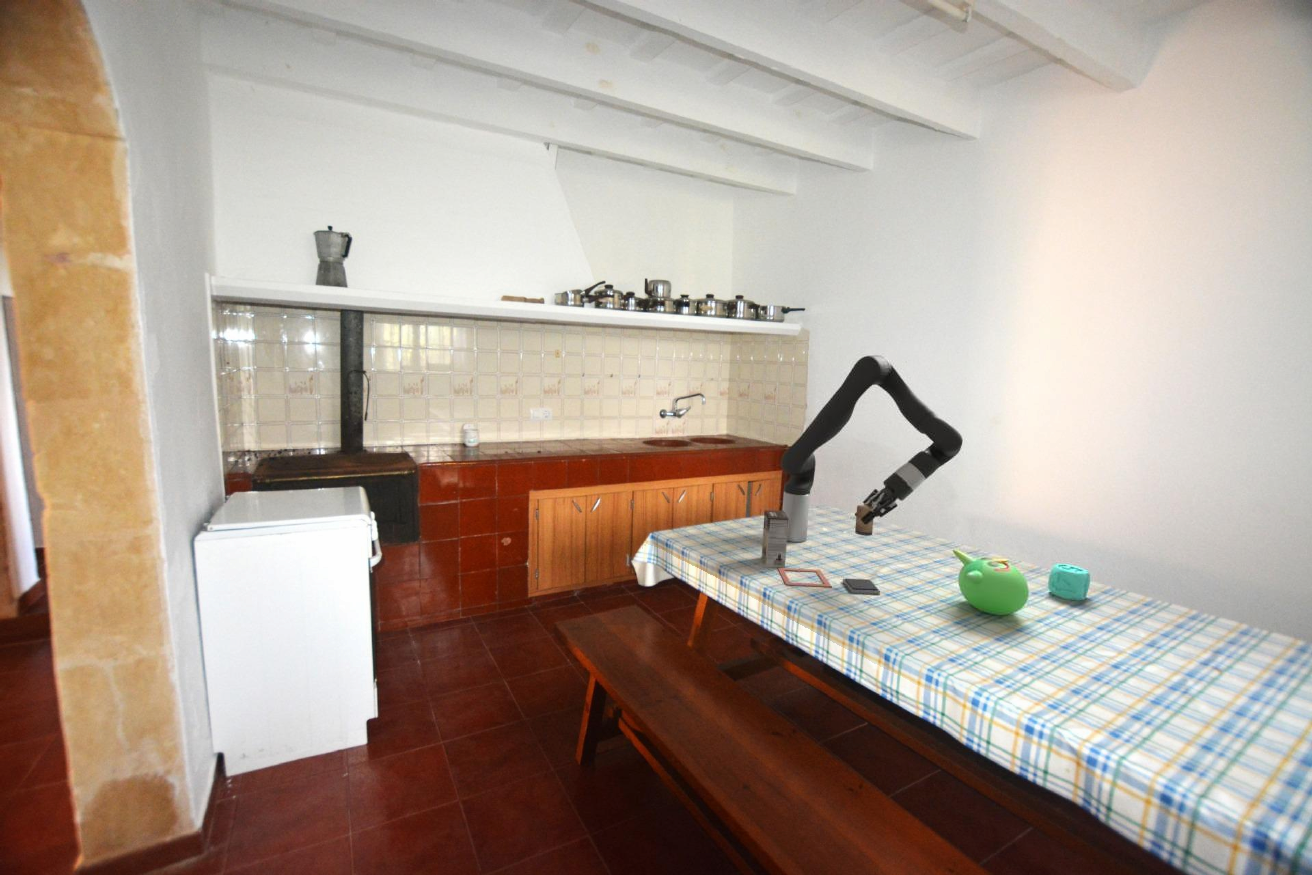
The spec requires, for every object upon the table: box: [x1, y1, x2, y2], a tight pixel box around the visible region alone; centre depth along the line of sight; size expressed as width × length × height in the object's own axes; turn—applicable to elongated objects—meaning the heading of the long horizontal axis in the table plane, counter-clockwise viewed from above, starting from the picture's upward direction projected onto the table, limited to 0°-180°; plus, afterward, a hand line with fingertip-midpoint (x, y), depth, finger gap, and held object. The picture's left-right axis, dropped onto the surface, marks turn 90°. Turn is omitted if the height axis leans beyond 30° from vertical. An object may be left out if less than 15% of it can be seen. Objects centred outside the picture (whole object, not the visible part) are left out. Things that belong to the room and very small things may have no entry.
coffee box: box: [761, 509, 789, 568], centre depth 182 cm, size 9×6×16 cm
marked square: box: [777, 567, 832, 588], centre depth 171 cm, size 13×13×1 cm
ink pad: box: [842, 578, 881, 595], centre depth 165 cm, size 8×8×1 cm
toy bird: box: [952, 549, 1030, 616], centre depth 152 cm, size 18×17×15 cm
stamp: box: [854, 504, 874, 537], centre depth 170 cm, size 5×5×8 cm
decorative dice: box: [1047, 563, 1091, 602], centre depth 165 cm, size 8×8×8 cm
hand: (860, 519), depth 169 cm, fingers closed on stamp, 4 cm apart
